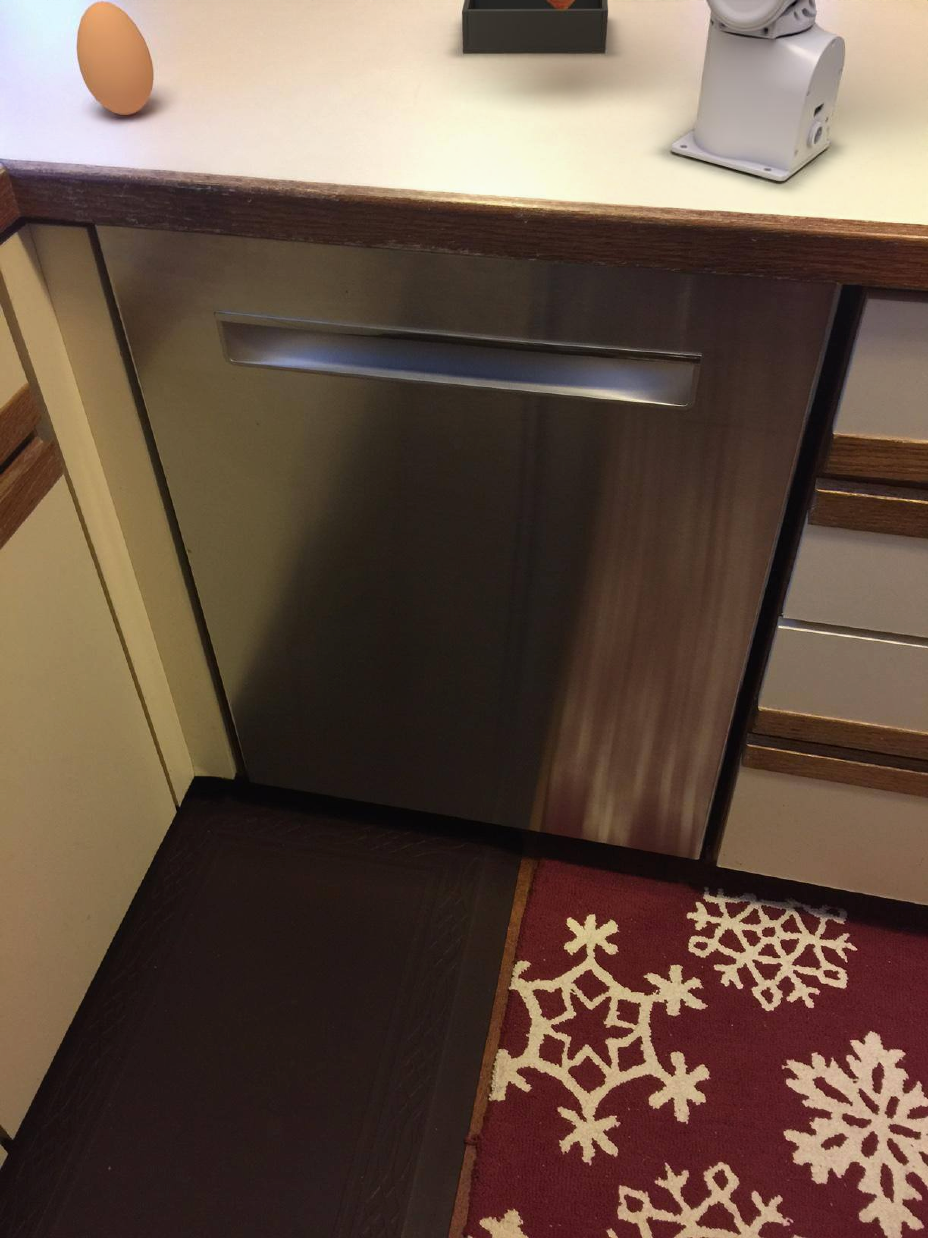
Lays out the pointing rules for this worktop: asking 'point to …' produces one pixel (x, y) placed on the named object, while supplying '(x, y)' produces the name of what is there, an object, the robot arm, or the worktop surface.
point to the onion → (561, 3)
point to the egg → (114, 59)
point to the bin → (534, 26)
